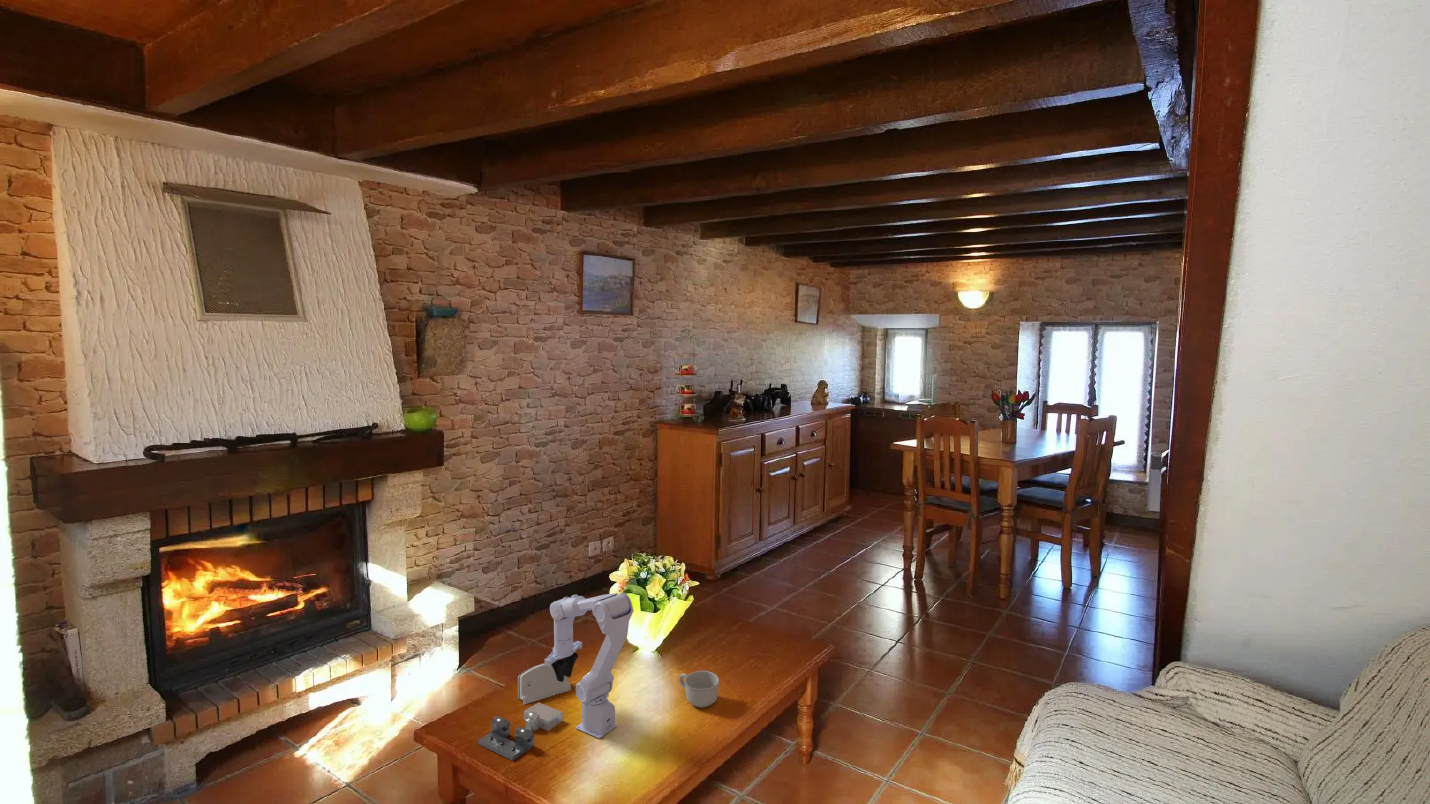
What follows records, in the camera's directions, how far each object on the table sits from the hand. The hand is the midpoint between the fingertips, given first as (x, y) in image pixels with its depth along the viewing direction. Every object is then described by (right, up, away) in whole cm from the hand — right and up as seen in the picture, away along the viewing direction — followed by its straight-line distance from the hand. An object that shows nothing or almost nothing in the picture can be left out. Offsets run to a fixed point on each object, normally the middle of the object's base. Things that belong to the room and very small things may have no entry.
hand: (563, 678), depth 218 cm
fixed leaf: (-12, -11, -18) cm, 24 cm away
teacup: (+42, -10, +6) cm, 43 cm away
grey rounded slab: (-9, -9, +10) cm, 16 cm away
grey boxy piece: (-6, -10, -8) cm, 14 cm away
